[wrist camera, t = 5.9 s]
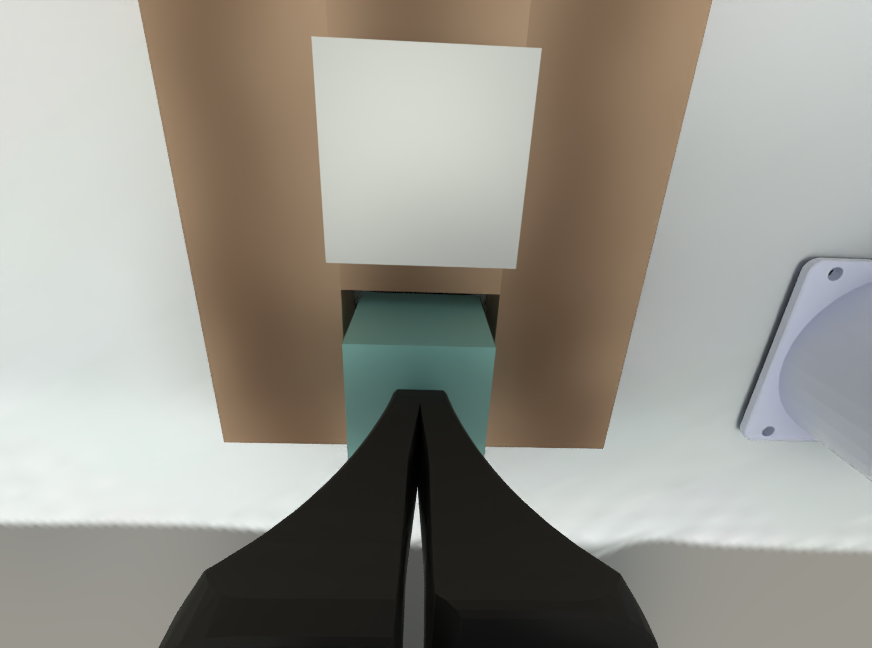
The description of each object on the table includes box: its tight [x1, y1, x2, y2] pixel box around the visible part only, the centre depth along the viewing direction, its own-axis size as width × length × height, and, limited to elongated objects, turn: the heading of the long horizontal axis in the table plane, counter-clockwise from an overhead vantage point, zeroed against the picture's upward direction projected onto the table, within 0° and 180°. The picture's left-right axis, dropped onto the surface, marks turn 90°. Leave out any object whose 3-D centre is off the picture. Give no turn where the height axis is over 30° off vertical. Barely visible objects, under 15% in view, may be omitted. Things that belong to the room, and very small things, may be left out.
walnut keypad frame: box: [138, 0, 712, 449], centre depth 13 cm, size 14×20×2 cm
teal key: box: [342, 292, 496, 460], centre depth 14 cm, size 4×4×4 cm
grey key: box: [311, 36, 542, 269], centre depth 10 cm, size 4×4×4 cm
